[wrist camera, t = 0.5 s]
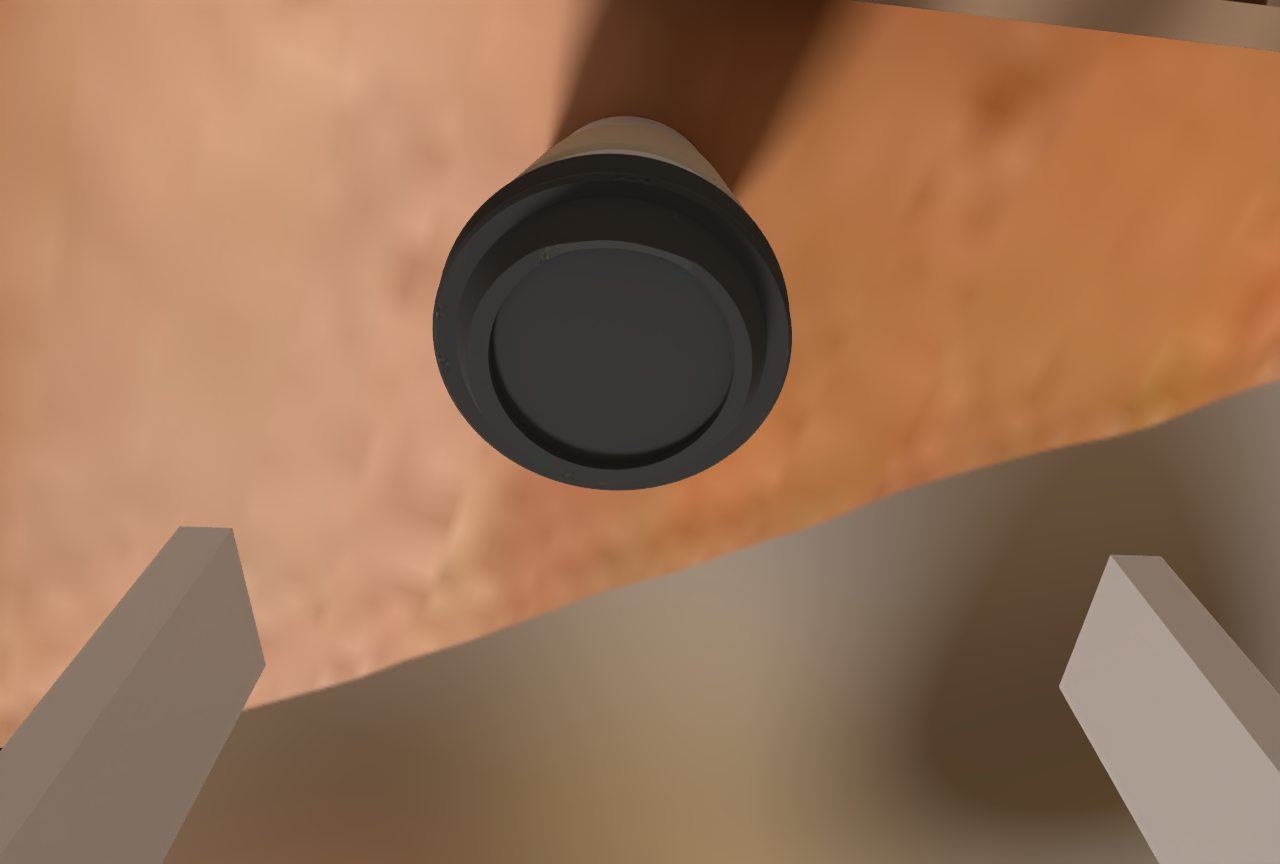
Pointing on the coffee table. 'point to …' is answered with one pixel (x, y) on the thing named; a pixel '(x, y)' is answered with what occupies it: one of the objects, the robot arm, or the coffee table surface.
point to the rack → (1136, 17)
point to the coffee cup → (614, 313)
